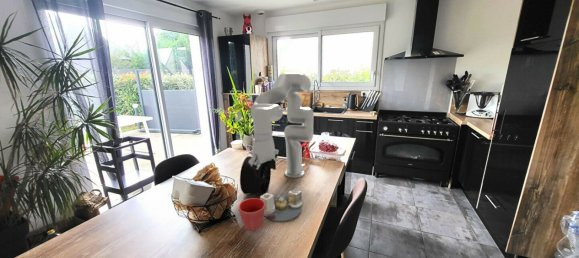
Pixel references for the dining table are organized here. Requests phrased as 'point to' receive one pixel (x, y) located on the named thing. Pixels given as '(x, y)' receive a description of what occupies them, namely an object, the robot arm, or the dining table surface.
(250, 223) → the flower pot
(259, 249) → the dining table surface
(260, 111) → the robot arm
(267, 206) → the open ended square duct
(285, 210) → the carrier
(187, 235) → the dining table surface
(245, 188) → the car wheel rim
